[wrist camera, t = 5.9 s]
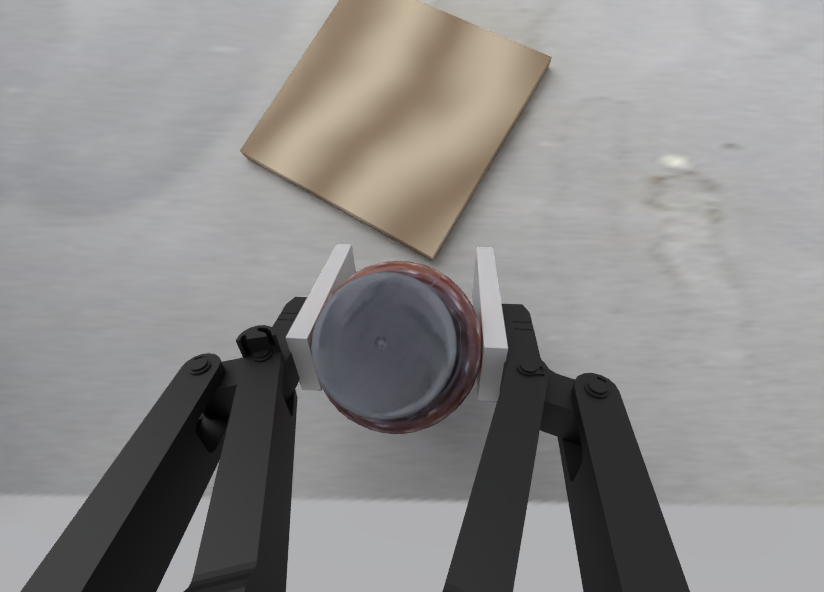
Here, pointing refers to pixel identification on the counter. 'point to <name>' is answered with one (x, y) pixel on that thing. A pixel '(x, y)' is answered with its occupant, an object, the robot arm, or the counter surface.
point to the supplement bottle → (397, 347)
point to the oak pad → (397, 115)
